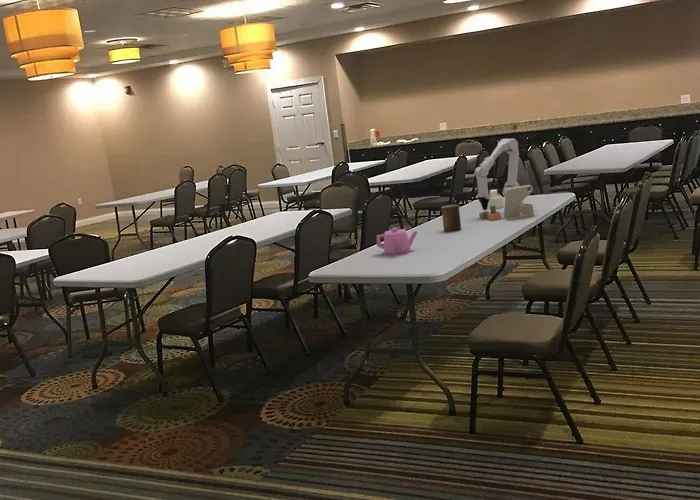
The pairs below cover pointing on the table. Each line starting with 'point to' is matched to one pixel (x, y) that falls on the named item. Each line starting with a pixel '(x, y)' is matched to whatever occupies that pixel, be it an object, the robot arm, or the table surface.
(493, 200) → the medicine bottle
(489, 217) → the pen cup
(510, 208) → the phone holder
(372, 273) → the table surface
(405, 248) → the teakettle
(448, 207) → the pillar candle
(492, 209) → the marker
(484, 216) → the button base
